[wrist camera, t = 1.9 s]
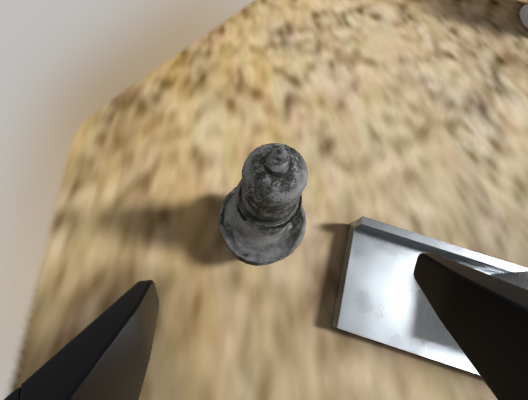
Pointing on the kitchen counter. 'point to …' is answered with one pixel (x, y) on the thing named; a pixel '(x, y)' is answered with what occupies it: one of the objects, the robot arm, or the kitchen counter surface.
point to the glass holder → (524, 15)
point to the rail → (403, 290)
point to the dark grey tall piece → (266, 206)
